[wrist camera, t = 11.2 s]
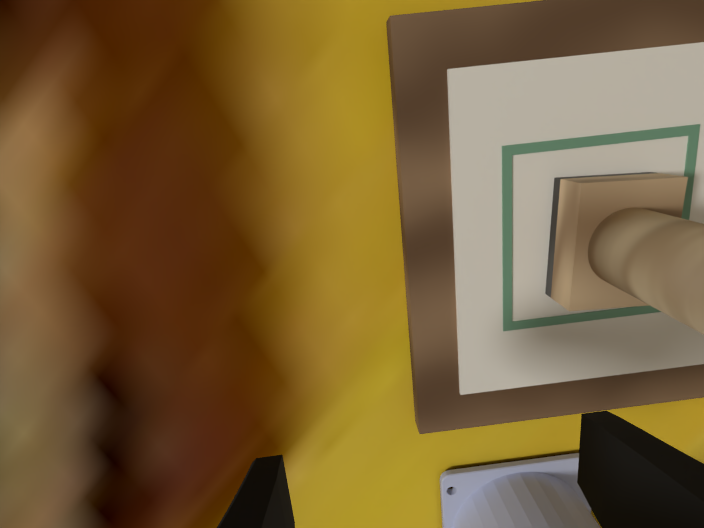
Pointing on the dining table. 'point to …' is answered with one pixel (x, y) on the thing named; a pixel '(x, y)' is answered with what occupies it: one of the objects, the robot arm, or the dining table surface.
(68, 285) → the dining table surface
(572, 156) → the paper
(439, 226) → the desk board
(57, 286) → the dining table surface
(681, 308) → the stamp
